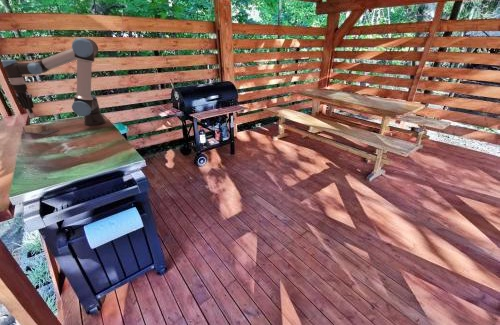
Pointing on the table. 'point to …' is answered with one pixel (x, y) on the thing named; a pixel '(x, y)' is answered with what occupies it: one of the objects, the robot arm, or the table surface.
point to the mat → (44, 132)
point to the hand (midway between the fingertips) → (32, 117)
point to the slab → (35, 128)
